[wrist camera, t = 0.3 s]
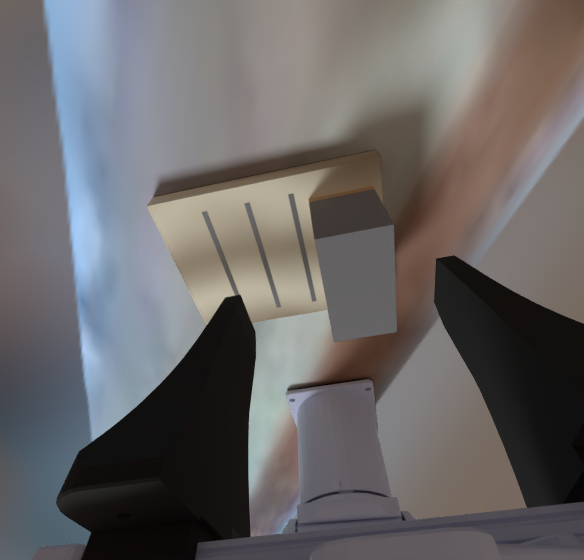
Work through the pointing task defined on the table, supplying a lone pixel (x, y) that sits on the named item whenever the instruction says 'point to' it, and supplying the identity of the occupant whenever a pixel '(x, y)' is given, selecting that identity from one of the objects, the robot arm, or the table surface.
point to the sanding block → (356, 262)
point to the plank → (257, 235)
